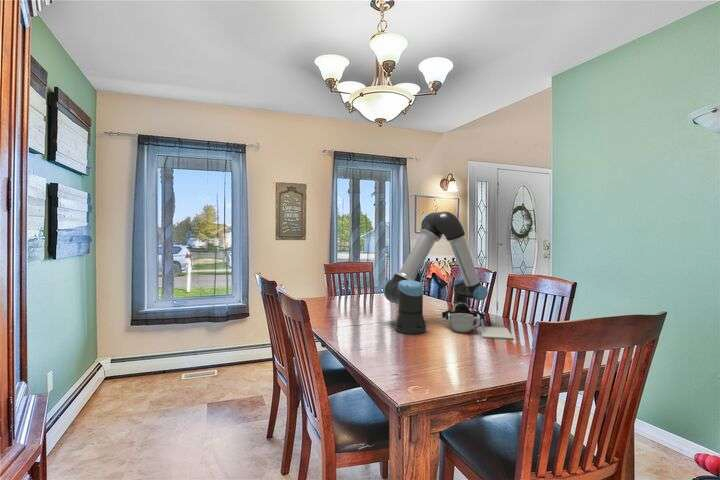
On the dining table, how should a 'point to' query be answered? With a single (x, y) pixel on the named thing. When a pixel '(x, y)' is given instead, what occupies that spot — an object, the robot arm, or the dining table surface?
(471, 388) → the dining table surface
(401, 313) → the robot arm
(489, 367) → the dining table surface
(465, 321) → the teacup
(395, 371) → the dining table surface
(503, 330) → the placemat
